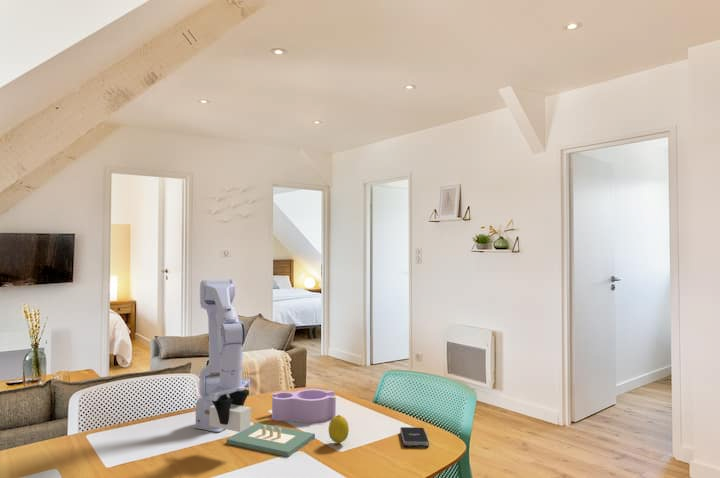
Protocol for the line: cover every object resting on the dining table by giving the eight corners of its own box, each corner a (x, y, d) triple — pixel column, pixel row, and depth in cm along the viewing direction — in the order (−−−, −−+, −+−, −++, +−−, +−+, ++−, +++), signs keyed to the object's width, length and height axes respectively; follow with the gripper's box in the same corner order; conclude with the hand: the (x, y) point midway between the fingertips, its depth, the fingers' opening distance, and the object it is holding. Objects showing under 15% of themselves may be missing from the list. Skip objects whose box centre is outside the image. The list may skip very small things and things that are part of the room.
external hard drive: (403, 449, 134) (403, 441, 134) (400, 433, 145) (400, 427, 145) (429, 449, 134) (429, 442, 134) (423, 434, 145) (423, 427, 145)
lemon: (346, 449, 133) (346, 419, 133) (326, 447, 134) (326, 417, 134) (350, 441, 138) (350, 412, 138) (331, 439, 139) (331, 411, 139)
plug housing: (200, 423, 131) (200, 405, 131) (211, 418, 135) (211, 400, 135) (240, 432, 125) (240, 412, 125) (250, 426, 129) (250, 407, 129)
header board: (226, 443, 135) (226, 430, 135) (256, 426, 148) (256, 414, 148) (288, 456, 127) (288, 442, 127) (314, 437, 140) (315, 424, 140)
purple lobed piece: (271, 424, 151) (271, 401, 151) (273, 411, 163) (273, 390, 163) (336, 422, 154) (336, 399, 154) (333, 409, 166) (333, 388, 166)
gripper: (224, 377, 121) (224, 432, 121) (259, 364, 135) (259, 414, 134) (202, 373, 124) (201, 427, 124) (239, 362, 138) (238, 410, 137)
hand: (230, 420), depth 129 cm, fingers closed on plug housing, 4 cm apart
